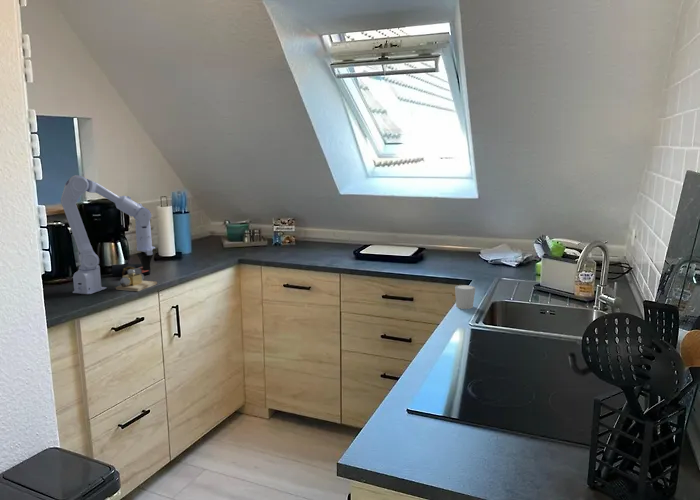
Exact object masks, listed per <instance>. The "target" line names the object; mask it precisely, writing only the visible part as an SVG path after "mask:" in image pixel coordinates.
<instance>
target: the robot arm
mask: <svg viewBox="0 0 700 500" xmlns="http://www.w3.org/2000/svg"><path fill="white" fill-rule="evenodd" d="M85 193H94V194H95V193H96V194H98V195H100V196H102V197H103V198H104V199H107V200H109V201H111V202H113V203H114V204H115V207H116V209H117V210H119V211H121V212H122V213H124V214H126V215H128V216H129V217H133V218H134V221H135V225H134V226H135V227H134V228H135V240H136V241H135V242H136V251H137V252H139V253H136V256H137V257H138V258H139V261H140V264H142V267H143V270H144V271H146V270H149V269H150V270H151V261H152V259H153V256H154V253H153V250H154V249H156V247H155V246H153V241H152V240H153V239H152V229H151V228H152V227H151V219H152V216H153V215H152V213H151V211H150V210H149V208H147V207H144V206H143V204H142V203H138V202H136V201H134V200H133V199H132V197H131V196H129V195H127V196H126V195H121V196H119V195H117V194H116V193H114V192H112V191H111V190H110V189H108V188H106V187H105V186H103V185H102V184H100V183H98V182H96V181H93V180H92V179H88V178H86V177H85V176H82V175H79V174H75V175H72V176H70V177H69V178H68V180H67V181H66V182H65V184H64V188H63V190H62V194H61V197H60V202H61V205H62V208H63V211H64V215H65V216H66V219H67V221H68V226H69V227H70V231H71V233H72V236H73V239H74V242H75V244H76V247H77V251H78V256H77V257H78V261H79V263H81V264H80V265H79V266H78V270H77V271H76V272H74V273H73V276H72V280H73V291H72V293H73V294H79V295H80V294H81V295H92V294H95V293H99V292H101V291H103V290H106V289H107V288H108V287H107V286H102V279H101V276H102V275H101V267H100V265H99V264H100V258H99V256H98V255H97V254H96V252H95V250H94V249H93V246H92V245H91V242H90V239H89V237H88V233H87V231H86V228H85V225H84V223H83V219H82V216H81V214H80V211H79V209H78V206H77V202H78V201H79V199H80V198H81V196H82V195H83V194H85Z"/></svg>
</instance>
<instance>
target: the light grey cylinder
mask: <svg viewBox="0 0 700 500" xmlns="http://www.w3.org/2000/svg"><path fill="white" fill-rule="evenodd" d="M454 291H455V293H454V294H455V307H456V308H458V309H461V310H468V309H469V310H471V309H473V308H474V301H475V293H476V287H475V286H473V285H470V284H469V285H468V284H459V285H455V287H454Z"/></svg>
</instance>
